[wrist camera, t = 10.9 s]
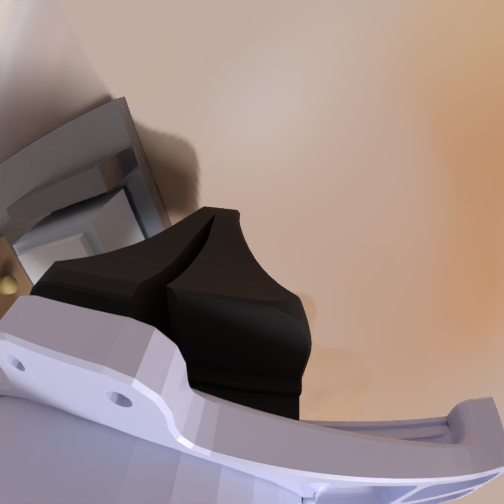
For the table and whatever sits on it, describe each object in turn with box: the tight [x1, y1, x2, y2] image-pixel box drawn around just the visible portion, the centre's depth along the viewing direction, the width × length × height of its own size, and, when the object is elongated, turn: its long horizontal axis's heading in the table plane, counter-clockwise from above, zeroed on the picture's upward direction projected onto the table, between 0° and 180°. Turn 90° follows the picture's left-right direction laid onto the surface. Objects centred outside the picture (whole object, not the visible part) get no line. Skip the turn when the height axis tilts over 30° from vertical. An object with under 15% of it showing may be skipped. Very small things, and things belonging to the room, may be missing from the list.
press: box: [0, 97, 172, 286], centre depth 15 cm, size 12×20×4 cm, turn 105°
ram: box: [13, 189, 145, 285], centre depth 13 cm, size 5×5×3 cm
